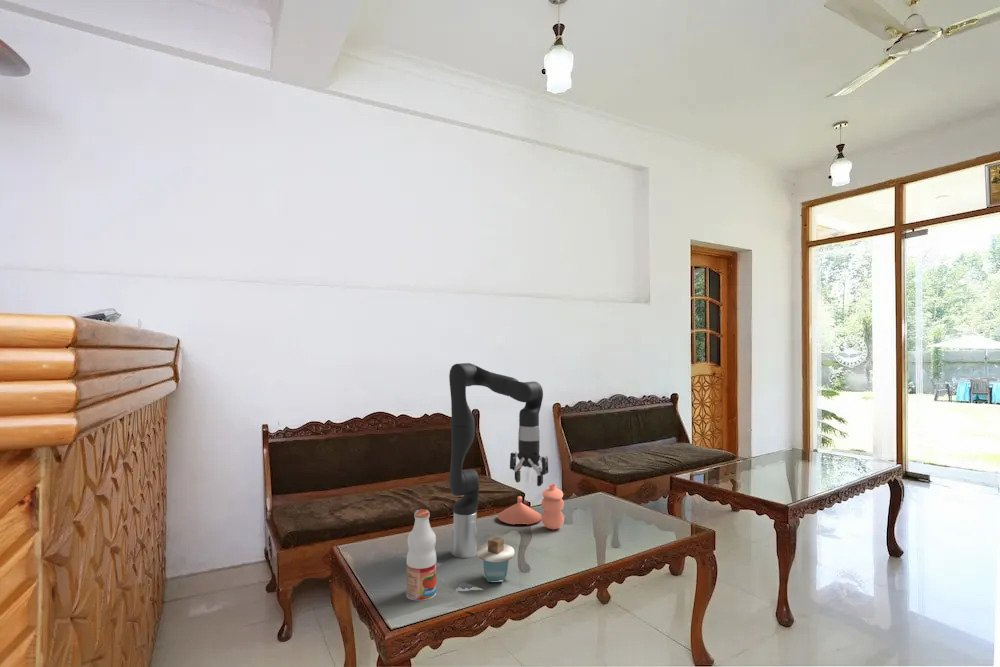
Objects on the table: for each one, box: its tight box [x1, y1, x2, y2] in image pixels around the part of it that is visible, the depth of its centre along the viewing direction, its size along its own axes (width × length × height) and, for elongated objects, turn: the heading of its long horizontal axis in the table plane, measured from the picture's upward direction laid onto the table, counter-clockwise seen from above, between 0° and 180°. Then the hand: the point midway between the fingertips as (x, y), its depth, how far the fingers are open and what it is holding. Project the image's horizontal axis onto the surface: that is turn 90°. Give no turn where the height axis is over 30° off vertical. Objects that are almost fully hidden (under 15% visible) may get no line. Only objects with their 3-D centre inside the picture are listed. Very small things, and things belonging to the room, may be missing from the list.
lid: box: [476, 535, 515, 562], centre depth 171 cm, size 13×13×5 cm
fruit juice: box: [405, 509, 437, 601], centre depth 157 cm, size 9×9×28 cm
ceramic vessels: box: [497, 483, 565, 530], centre depth 227 cm, size 35×21×19 cm, turn 47°
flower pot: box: [482, 560, 510, 583], centre depth 170 cm, size 9×9×9 cm
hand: (528, 483), depth 174 cm, fingers open, 8 cm apart
